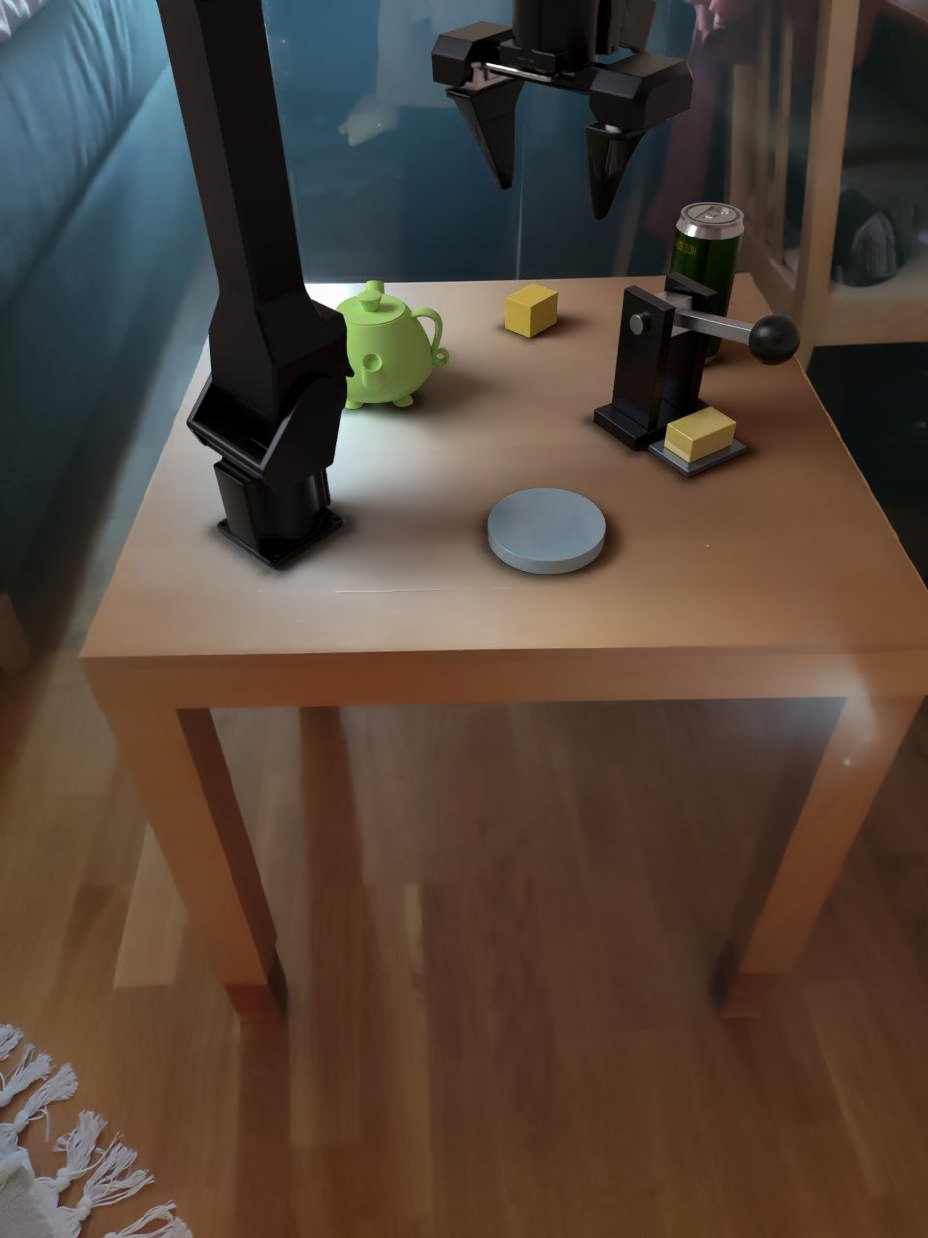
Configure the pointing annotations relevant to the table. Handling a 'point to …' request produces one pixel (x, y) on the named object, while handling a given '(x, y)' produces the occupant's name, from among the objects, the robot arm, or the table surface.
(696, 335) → the cutter
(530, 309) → the butter pat
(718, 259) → the beer can
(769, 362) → the arm
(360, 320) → the teapot
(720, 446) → the butter dish
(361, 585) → the table surface
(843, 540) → the table surface
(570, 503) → the plate
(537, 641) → the table surface
